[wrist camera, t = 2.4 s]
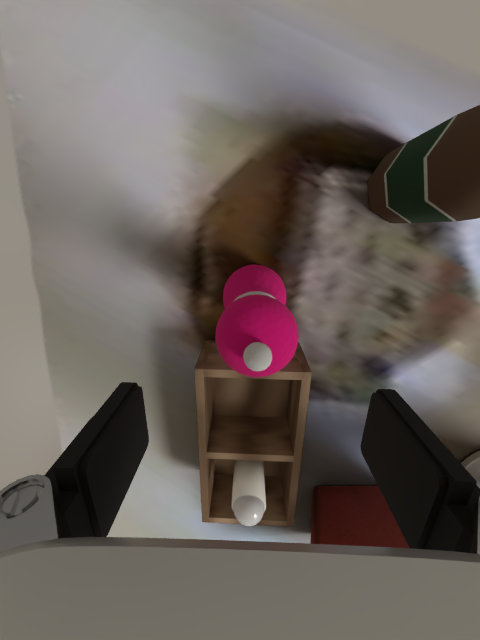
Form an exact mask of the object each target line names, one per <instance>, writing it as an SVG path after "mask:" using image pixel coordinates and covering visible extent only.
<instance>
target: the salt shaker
mask: <svg viewBox="0 0 480 640" xmlns="http://www.w3.org/2000/svg"><path fill="white" fill-rule="evenodd" d="M231 506H232V510H233V511H234V515H235V517H236V519H237V520H238V521H239V522H240V523H241V524H242V525H244V526H254V525H256V524H257V523H258V522H259V521H260V520H261V519H262V517H263V514H264V512H265V510H266V497H265V480H264V463H263V461H257V460H234V475H233V490H232V505H231Z"/></svg>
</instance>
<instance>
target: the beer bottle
mask: <svg viewBox="0 0 480 640" xmlns="http://www.w3.org/2000/svg"><path fill="white" fill-rule="evenodd" d="M367 185H368V196H369V207H370V210H372V211H373V212H375V213H376V214H378V215H379V216H381V217H382V218H383V219H385V220H386V221H388V222H389V223H419V222H447V221H462V220H469V219H476V218H480V105H479V106H476V107H474V108H472V109H469V110H467V111H465V112H462V113H460V114H458V115H456V116H454V117H452V118H451V119H449V120H447V121H445V122H443V123H441V124H440V125H438V126H436V127H434V128H432V129H431V130H429V131H427V132H425V133H423V134H421V135H420V136H418V137H416V138H414V139H412V140H411V141H409V142H407V143H405V144H403V145H401V146H400V147H398V148H396V149H394V150H392V151H391V152H390V153H388V154H387V155H385V156H384V158H383V159H382V161H381V162H380V164H379V165H378V167H377V168H376V169H375V171H374V172H373V174H372V175H371V177H370V178H369V180H368V181H367Z"/></svg>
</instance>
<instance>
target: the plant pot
mask: <svg viewBox="0 0 480 640" xmlns="http://www.w3.org/2000/svg"><path fill="white" fill-rule="evenodd" d="M311 544H327V545H350V546H372V547H394V548H410V547H409V546H408V544H407V542H406V540H405V538H404V536H403V534H402V532H401V530H400V528H399V526H398V524H397V522H396V520H395V518H394V516H393V514H392V512H391V510H390V508H389V506H388V504H387V502H386V500H385V498H384V496H383V494H382V492H381V490H380V488H379V486H317V487H315V488H314V489H313V494H312V507H311Z"/></svg>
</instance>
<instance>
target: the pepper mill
mask: <svg viewBox="0 0 480 640" xmlns="http://www.w3.org/2000/svg"><path fill="white" fill-rule="evenodd" d="M223 303H224V307H225V310H224V312H223V313H222V314H221V316H220V318H219V320H218V323H217V327H216V337H215V339H216V345H217V348H218V352H219V354H220V355H221V357H222V359H223V360H224V361H225V363H226V364H227V365H228V366H229V367H230V368H232V369H233V370H235V371H236V372H238V373H240V374H243V375H245V376H250V377H265V376H270V375H272V374H274V373H277V372H278V371H280V370H281V369H283V368H284V367H285V366H286V365H287V364H288V363H289V362H290V360H291V359H292V357H293V356H294V353H295V351H296V349H297V344H298V328H297V323H296V321H295V318H294V316H293V315H292V313H291V312H290V310H289V309H288V308H287V307H286V306H285V304H286V290H285V286H284V283H283V281H282V280H281V278H280V276H279V275H278V274H277V273H276V272H274V271H273V270H272V269H270V268H268V267H265V266H262V265H247V266H244V267H242V268H239V269H238V270H236V271H235V272H234V273H233V274H232V275H231V276H230V277H229V278H228V280H227V282H226V284H225V287H224V291H223Z"/></svg>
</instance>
